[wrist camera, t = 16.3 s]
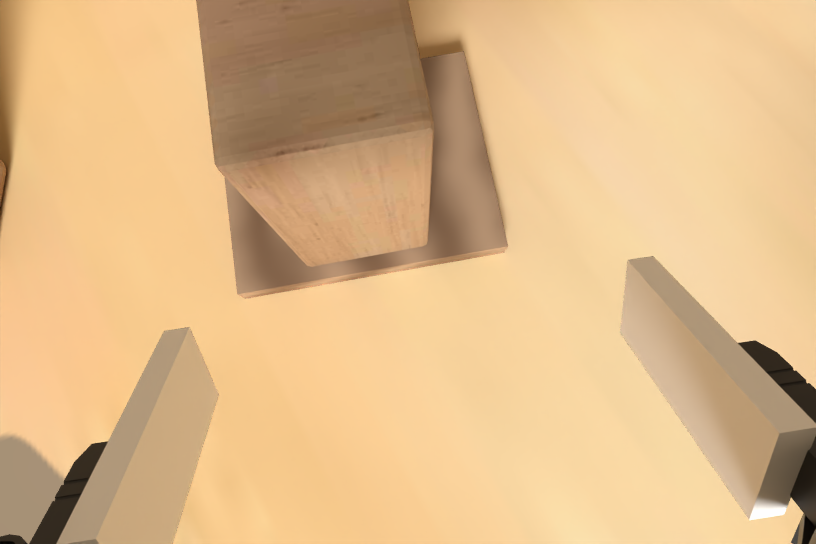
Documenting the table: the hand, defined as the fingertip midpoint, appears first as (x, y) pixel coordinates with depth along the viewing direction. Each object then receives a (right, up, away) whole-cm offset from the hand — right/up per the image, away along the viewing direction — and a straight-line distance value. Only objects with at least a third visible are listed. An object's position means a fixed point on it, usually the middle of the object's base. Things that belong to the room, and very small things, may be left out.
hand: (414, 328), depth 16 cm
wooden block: (-4, +8, +28) cm, 29 cm away
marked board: (-5, +10, +30) cm, 32 cm away
